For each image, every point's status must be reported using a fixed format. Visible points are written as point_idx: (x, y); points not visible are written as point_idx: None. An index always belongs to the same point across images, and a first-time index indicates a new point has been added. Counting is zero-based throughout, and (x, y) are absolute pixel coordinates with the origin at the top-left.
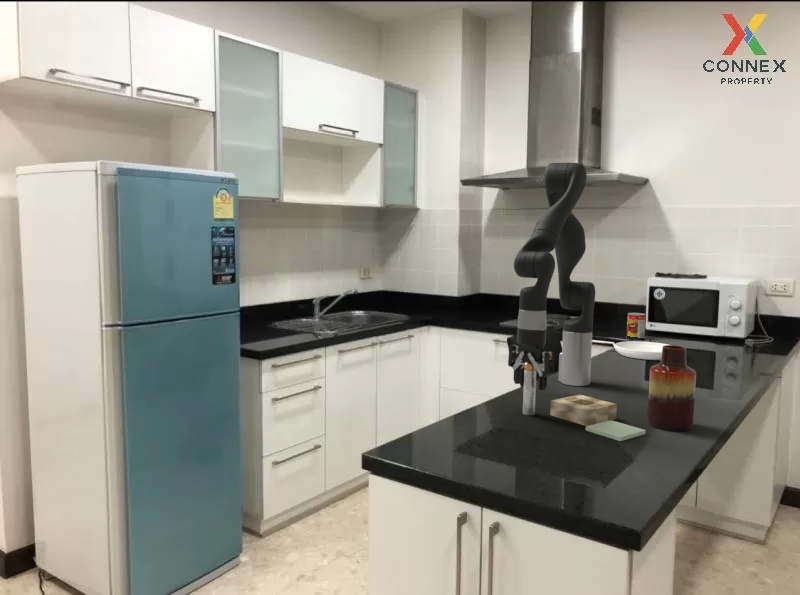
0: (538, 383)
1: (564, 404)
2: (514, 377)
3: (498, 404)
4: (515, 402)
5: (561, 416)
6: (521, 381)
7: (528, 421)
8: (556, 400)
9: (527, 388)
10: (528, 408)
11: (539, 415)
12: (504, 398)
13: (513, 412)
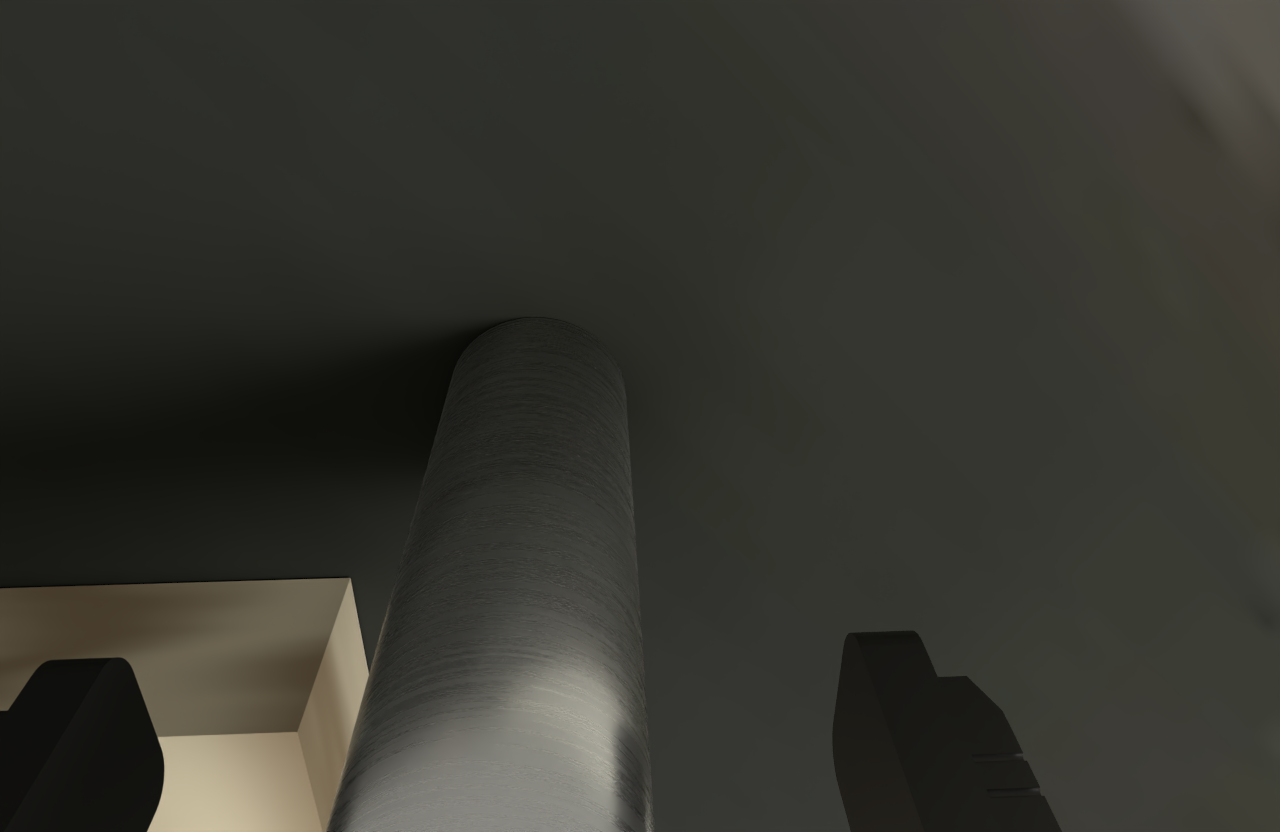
0: (22, 777)
1: None
2: (961, 736)
3: (1150, 378)
4: (1034, 615)
5: (144, 601)
6: (841, 782)
7: (201, 102)
8: (258, 786)
9: (442, 595)
10: (466, 388)
11: (403, 464)
12: (1251, 627)
13: (718, 266)
